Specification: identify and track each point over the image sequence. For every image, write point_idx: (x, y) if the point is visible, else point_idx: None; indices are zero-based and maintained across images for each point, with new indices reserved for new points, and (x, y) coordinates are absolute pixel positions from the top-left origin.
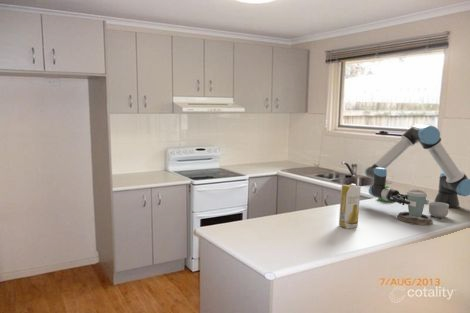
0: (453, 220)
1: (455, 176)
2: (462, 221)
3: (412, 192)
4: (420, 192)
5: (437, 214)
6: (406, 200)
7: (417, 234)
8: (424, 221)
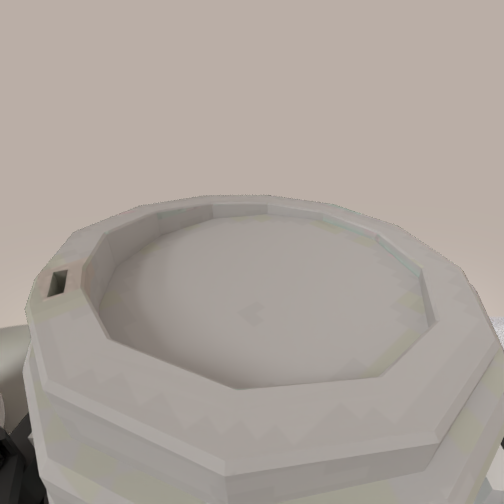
0: (22, 360)
1: None
2: (18, 331)
3: (319, 328)
4: (138, 266)
5: (2, 423)
6: (500, 464)
7: (497, 318)
8: None
